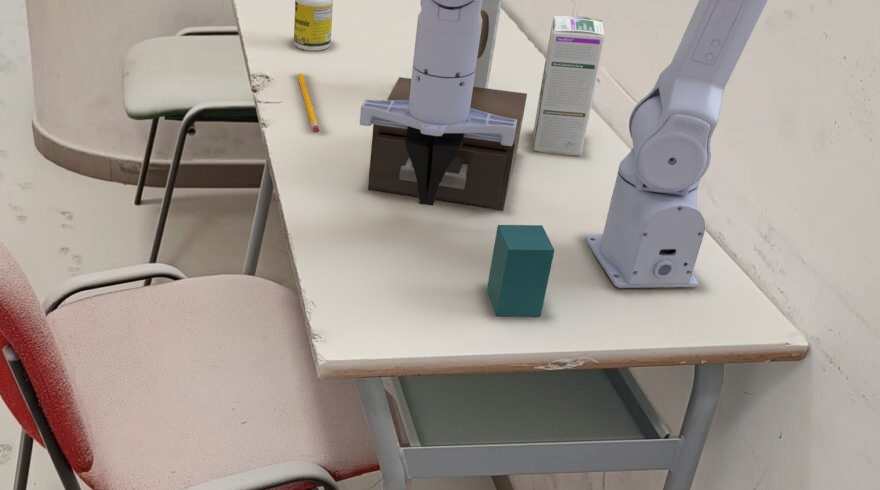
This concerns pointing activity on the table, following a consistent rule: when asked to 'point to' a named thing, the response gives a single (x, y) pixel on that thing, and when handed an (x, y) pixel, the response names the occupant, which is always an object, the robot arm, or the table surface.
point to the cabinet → (483, 101)
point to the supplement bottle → (313, 24)
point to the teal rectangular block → (519, 270)
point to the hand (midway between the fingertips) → (427, 200)
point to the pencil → (308, 103)
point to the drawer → (464, 181)
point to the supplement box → (487, 41)
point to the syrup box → (568, 84)
